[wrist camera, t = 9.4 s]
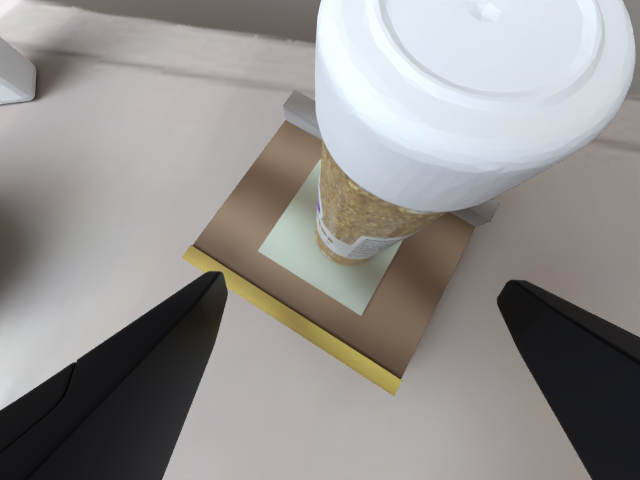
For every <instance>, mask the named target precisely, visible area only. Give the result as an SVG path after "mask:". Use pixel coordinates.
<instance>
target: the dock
mask: <svg viewBox="0 0 640 480" xmlns="http://www.w3.org/2000/svg"><path fill="white" fill-rule="evenodd" d="M283 106H284V112H285V118H286V120H285V122H284V123H283V124H282V126H281V127H280V128H279V130H278V131H277V132H276V134H275V135H274V136H273V138H272V139H271V141H270V142H269V143H268V145H267V146H266V147H265V149H264V150H263V151H262V153H261V154H260V155H259V157H258V158H257V159H256V161H255V162H254V163H253V165H252V166H251V167H250V169H249V170H248V171H247V173H246V174H245V176H244V177H243V178H242V180H241V181H240V182H239V184H238V185H237V186H236V188H235V189H234V190H233V192H232V193H231V194H230V196H229V197H228V198H227V200H226V201H225V202H224V204H223V205H222V206H221V208H220V209H219V210H218V212H217V213H216V215H215V216H214V217H213V219H212V220H211V221H210V223H209V224H208V225H207V227H206V228H205V229H204V231H203V232H202V233H201V235H200V236H199V237H198V239H197V240H196V241H195V243H194V244H193V245H191V246H190V247H189V248H188V250H187V251H186V252H185V254H184V255H183V256H182V258H183V259H184V260H186V261H187V262H189V263H190V264H192V265H194V266H195V267H197V268H198V269H200V270H201V271H203V272H204V273H206V272H208V271H221V272H223V274H224V278H225V282H226V286H227V288H229V289H230V290H232V291H233V292H235V293H237V294H238V295H240V296H241V297H243V298H244V299H246V300H247V301H249V302H250V303H252V304H253V305H255V306H256V307H258V308H260V309H261V310H263V311H264V312H266V313H267V314H269V315H270V316H272V317H273V318H275V319H276V320H278V321H280V322H281V323H283V324H284V325H286V326H287V327H289V328H290V329H292V330H293V331H295V332H296V333H298V334H300V335H301V336H303V337H304V338H306V339H307V340H309V341H310V342H312V343H313V344H315V345H316V346H318V347H319V348H321V349H323V350H324V351H326V352H327V353H329V354H330V355H332V356H333V357H335V358H336V359H338V360H339V361H341V362H343V363H344V364H346V365H347V366H349V367H350V368H352V369H353V370H355V371H356V372H358V373H359V374H361V375H363V376H364V377H366V378H367V379H369V380H370V381H372V382H373V383H375V384H376V385H378V386H379V387H381V388H382V389H384V390H386V391H387V392H389V393H390V394H392V395H393V396H395V394H396V392H397V389H398V387H399V385H400V383H401V381H402V380H401V378H402V376H403V374H404V372H405V369H406V367H407V365H408V363H409V361H410V359H411V357H412V355H413V353H414V351H415V349H416V347H417V345H418V343H419V341H420V339H421V337H422V335H423V333H424V331H425V329H426V327H427V324H428V322H429V320H430V318H431V316H432V314H433V312H434V310H435V308H436V306H437V304H438V302H439V300H440V298H441V296H442V294H443V292H444V290H445V288H446V286H447V284H448V282H449V279H450V277H451V275H452V273H453V271H454V269H455V267H456V265H457V263H458V261H459V259H460V257H461V255H462V253H463V251H464V249H465V247H466V245H467V243H468V241H469V239H470V236H471V234H472V232H473V230H474V228H475V227H476V226H479V225H481V224H484V223H487V222H489V221H491V219H492V217H493V215H494V213H495V211H496V209H497V206H498V204H499V202H498V201H496V200H494V199H490V200H488V201H486V202H483V203H481V204H479V205H476V206H472V207H469V208H465V209H461V210H455V211H450V212H448V213H446V214H444V215H443V216H441V217H439V218H437V219H436V220H433V221H432V222H430V223H429V224H427V225H426V226H425V227H424V228H422V229H421V230H420V231H418V232H416V233H414V234H413V235H411V236H409V237H407V238H405V239H403V240H402V241H400V242H398V243H396V244H395V245H393V246H391V247H389V248H388V249H386V250H384V251H382V252H380V253H379V254H377V255H375V256H372V257H371V258H370V259H369V260H368V261H366V262H364V263H362V264H359V265H354V266H345V265H340V264H337V263H335V262H332V261H331V260H329V259H328V258H327V257H325V256H324V255H323V253H322V252H321V250H320V249H319V247H318V245H317V242H316V239H315V225H316V222H317V221H316V216H317V203H318V183H319V175H320V171H321V158H322V141H323V139H322V136H321V132H320V129H319V126H318V121H317V117H316V104H315V101H314V100H312V99H310V98H309V97H307V96H305V95H303V94H301V93H300V92H298V91H296V90H294V92H293V93H292V94H291V96H290V97H289V98H288V100H287V101H286V102H285V104H284V105H283Z"/></svg>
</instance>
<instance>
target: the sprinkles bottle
mask: <svg viewBox="0 0 640 480" xmlns="http://www.w3.org/2000/svg"><path fill="white" fill-rule="evenodd" d="M317 20H318V21H317V34H316V35H317V36H316V60H315V104H316V117H317V121H318V126H319V129H320V132H321V136H322V139H323V141H322V158H321V171H320V175H319V183H318V203H317V216H316V221H317V222H316V225H315V239H316V242H317V245H318V247H319V249H320V250H321V252H322V253H323V255H324V256H325V257H327V258H328V259H329V260H331V261H332V262H335V263H337V264H340V265H345V266H354V265H359V264H362V263H364V262H366V261H368V260H369V259H370V258H371V257H372V256H375V255H377V254H379V253H380V252H382V251H384V250H386V249H388V248H389V247H391V246H393V245H395V244H396V243H398V242H400V241H402V240H403V239H405V238H407V237H409V236H411V235H413V234H414V233H416V232H418V231H420V230H421V229H422V228H424V227H425V226H426V225H427V224H429V223H430V222H432V221H433V220H436V219H437V218H439V217H441V216H443V215H444V214H446V213H448V212H450V211H455V210H461V209H465V208H469V207H472V206H476V205H479V204H481V203H483V202H486V201H488V200H490V199H492V198H494V197H496V196H498V195H500V194H502V193H504V192H506V191H508V190H510V189H511V188H513V187H515V186H517V185H519V184H521V183H523V182H524V181H526V180H528V179H530V178H532V177H534V176H535V175H537V174H539V173H541V172H543V171H545V170H546V169H548V168H550V167H552V166H554V165H555V164H557V163H559V162H561V161H563V160H564V159H566V158H568V157H569V156H571V155H573V154H574V153H576V152H577V151H579V150H581V149H582V148H584V147H585V146H586V145H587V144H588V143H590V142H591V141H592V140H593V139H594V138H596V137H597V136H598V135H599V134H601V133H602V131H603V130H604V129H605V128H606V127H607V126H608V124H609V123H610V122H611V120H612V119H613V118H614V117H615V115H616V114H617V112H618V111H619V109H620V107H621V106H622V104H623V102H624V100H625V97H626V95H627V92H628V90H629V87H630V85H631V82H632V78H633V72H634V66H635V55H636V52H635V41H634V35H633V29H632V25H631V21H630V17H629V14H628V12H627V10H626V7H625V5H624V3H623V0H321V4H320V8H319V13H318V19H317Z"/></svg>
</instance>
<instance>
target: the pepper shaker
mask: <svg viewBox="0 0 640 480" xmlns="http://www.w3.org/2000/svg"><path fill="white" fill-rule="evenodd" d="M35 86H36V68H35V66H34V65H33V64H32V62H31V61H29V60H28V59H27V58H26V57H24V56H23V55H22V54H21V53H19V52H18V51H17V50H16V49H14V48H13V47H12V46H11V45H9V44H8V43H7V42H6V41H4V40H3V39H2V38H1V37H0V104H7V103H15V102H23V101H30V100H31V99H33V98H34V96H35Z"/></svg>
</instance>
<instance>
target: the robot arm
mask: <svg viewBox="0 0 640 480" xmlns="http://www.w3.org/2000/svg"><path fill="white" fill-rule="evenodd" d="M227 296H228V291H227V286H226V282H225V278H224V274H223V272H221V271H208V272H206V273H204V274H203V275H201V276H200V277H198V278H197V279H196V280H194V281H193V282H191V283H190V284H188V285H187V286H185V287H184V288H182V289H181V290H179V291H178V292H176V293H175V294H173V295H172V296H170V297H169V298H168V299H166V300H165V301H163V302H162V303H160V304H159V305H157V306H156V307H154V308H153V309H151V310H150V311H148V312H147V313H145V314H144V315H142V316H141V317H140V318H138V319H137V320H135V321H134V322H132V323H131V324H129V325H128V326H126V327H125V328H123V329H122V330H120V331H119V332H117V333H116V334H115V335H113V336H112V337H110V338H109V339H107V340H106V341H104V342H103V343H101V344H100V345H98V346H97V347H95V348H94V349H92V350H91V351H89V352H88V353H87V354H85V355H84V356H82V357H81V358H79V359H78V360H77V362H74V363H72V364H70V365H69V366H67V367H66V368H64V369H63V370H61V371H60V372H58V373H57V374H55V375H54V376H52V377H51V378H49V379H48V380H46V381H45V382H43V383H42V384H40V385H39V386H37V387H36V388H34V389H33V390H31V391H30V392H28V393H27V394H25V395H24V396H22V397H21V398H19V399H18V400H16V401H15V402H13V403H11V404H10V405H8V406H7V407H5V408H3V409H2V410H0V480H162V479H163V476H164V473H165V471H166V468H167V466H168V463H169V461H170V458H171V455H172V453H173V450H174V448H175V445H176V443H177V440H178V437H179V435H180V432H181V430H182V427H183V425H184V422H185V419H186V417H187V414H188V412H189V409H190V407H191V404H192V401H193V399H194V396H195V394H196V391H197V389H198V386H199V383H200V381H201V378H202V376H203V373H204V371H205V368H206V365H207V363H208V360H209V358H210V355H211V353H212V350H213V347H214V344H215V341H216V338H217V334H218V330H219V327H220V323H221V319H222V315H223V312H224V308H225V304H226V300H227ZM497 305H498V307H499V309H500V312H501V314H502V316H503V318H504V320H505V323H506V325H507V327H508V329H509V331H510V334H511V336H512V338H513V340H514V342H515V344H516V347H517V349H518V351H519V353H520V354H521V356H522V358H523V360H524V362H525V363H526V365H527V367H528V369H529V370H530V372H531V374H532V376H533V377H534V379H535V381H536V383H537V384H538V386H539V388H540V390H541V391H542V393H543V395H544V397H545V398H546V400H547V402H548V404H549V405H550V407H551V409H552V411H553V412H554V414H555V416H556V418H557V419H558V421H559V423H560V425H561V426H562V428H563V430H564V432H565V433H566V435H567V437H568V439H569V440H570V442H571V444H572V446H573V447H574V449H575V451H576V453H577V454H578V456H579V458H580V460H581V461H582V463H583V465H584V466H585V468H586V470H587V472H588V473H589V475H590V477H591V479H592V480H640V337H638V336H636V335H634V334H632V333H630V332H628V331H626V330H624V329H622V328H620V327H618V326H616V325H614V324H612V323H610V322H608V321H606V320H604V319H602V318H600V317H598V316H596V315H594V314H592V313H590V312H588V311H586V310H584V309H582V308H580V307H578V306H576V305H574V304H572V303H570V302H568V301H566V300H564V299H562V298H560V297H558V296H556V295H554V294H552V293H550V292H548V291H546V290H544V289H542V288H540V287H538V286H536V285H534V284H532V283H530V282H528V281H525V280H510V281H508V282H507V283H506V285H505V286H504V288H503V290H502V291H501V293H500V294H499V296H498V298H497Z"/></svg>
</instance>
